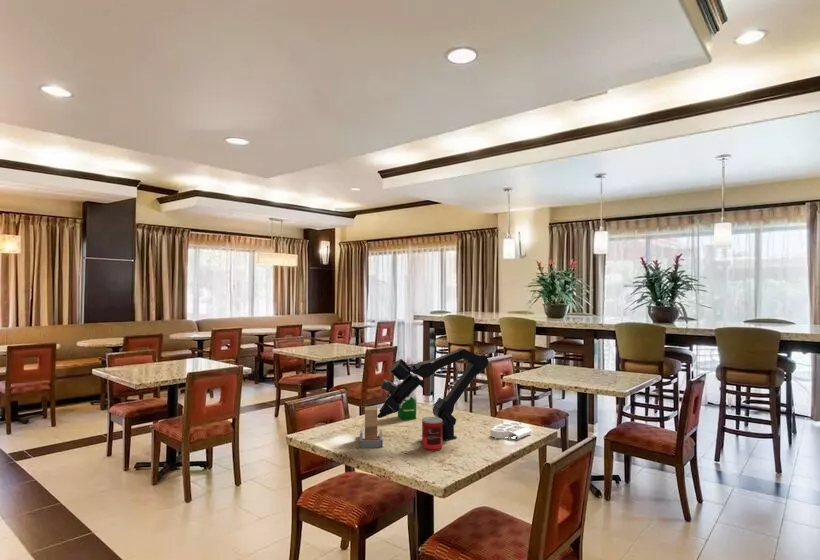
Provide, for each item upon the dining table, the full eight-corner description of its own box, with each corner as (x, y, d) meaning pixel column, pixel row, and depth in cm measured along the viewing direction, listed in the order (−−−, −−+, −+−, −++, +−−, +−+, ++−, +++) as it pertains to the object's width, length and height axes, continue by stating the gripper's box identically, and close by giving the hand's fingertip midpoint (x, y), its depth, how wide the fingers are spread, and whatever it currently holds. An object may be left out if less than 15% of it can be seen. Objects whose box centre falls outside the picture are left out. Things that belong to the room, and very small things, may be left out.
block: (377, 442, 193) (377, 409, 193) (364, 442, 193) (364, 409, 193) (377, 438, 198) (377, 406, 198) (364, 438, 198) (365, 406, 198)
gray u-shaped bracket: (382, 447, 187) (382, 440, 187) (359, 447, 186) (359, 441, 186) (381, 435, 202) (381, 429, 202) (360, 436, 201) (360, 430, 201)
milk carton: (400, 420, 226) (400, 377, 227) (395, 416, 235) (395, 374, 235) (418, 419, 229) (418, 376, 229) (412, 414, 237) (412, 373, 238)
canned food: (431, 443, 191) (431, 415, 192) (446, 448, 186) (446, 419, 186) (417, 447, 186) (417, 419, 186) (433, 452, 180) (433, 422, 181)
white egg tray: (513, 443, 193) (482, 436, 203) (535, 434, 206) (505, 427, 216) (513, 435, 193) (482, 428, 203) (535, 426, 206) (505, 420, 216)
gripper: (394, 369, 205) (367, 395, 205) (391, 377, 186) (362, 405, 186) (412, 388, 205) (386, 414, 205) (411, 397, 186) (382, 426, 186)
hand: (379, 414), depth 195 cm, fingers open, 9 cm apart
